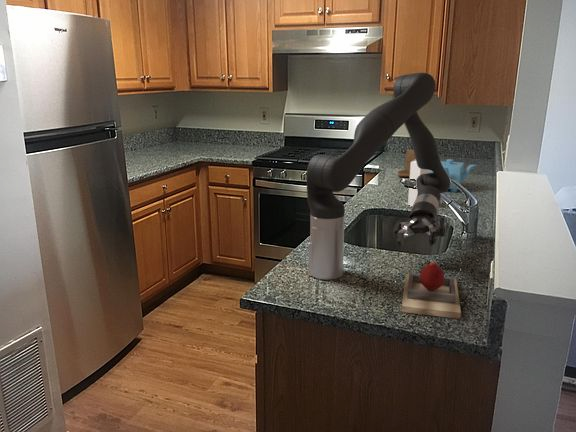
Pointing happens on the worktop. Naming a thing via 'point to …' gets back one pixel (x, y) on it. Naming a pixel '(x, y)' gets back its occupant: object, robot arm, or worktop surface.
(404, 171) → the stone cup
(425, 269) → the red rounded piece
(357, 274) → the worktop surface
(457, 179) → the teakettle
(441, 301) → the tray
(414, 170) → the milk
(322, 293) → the worktop surface
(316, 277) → the robot arm
